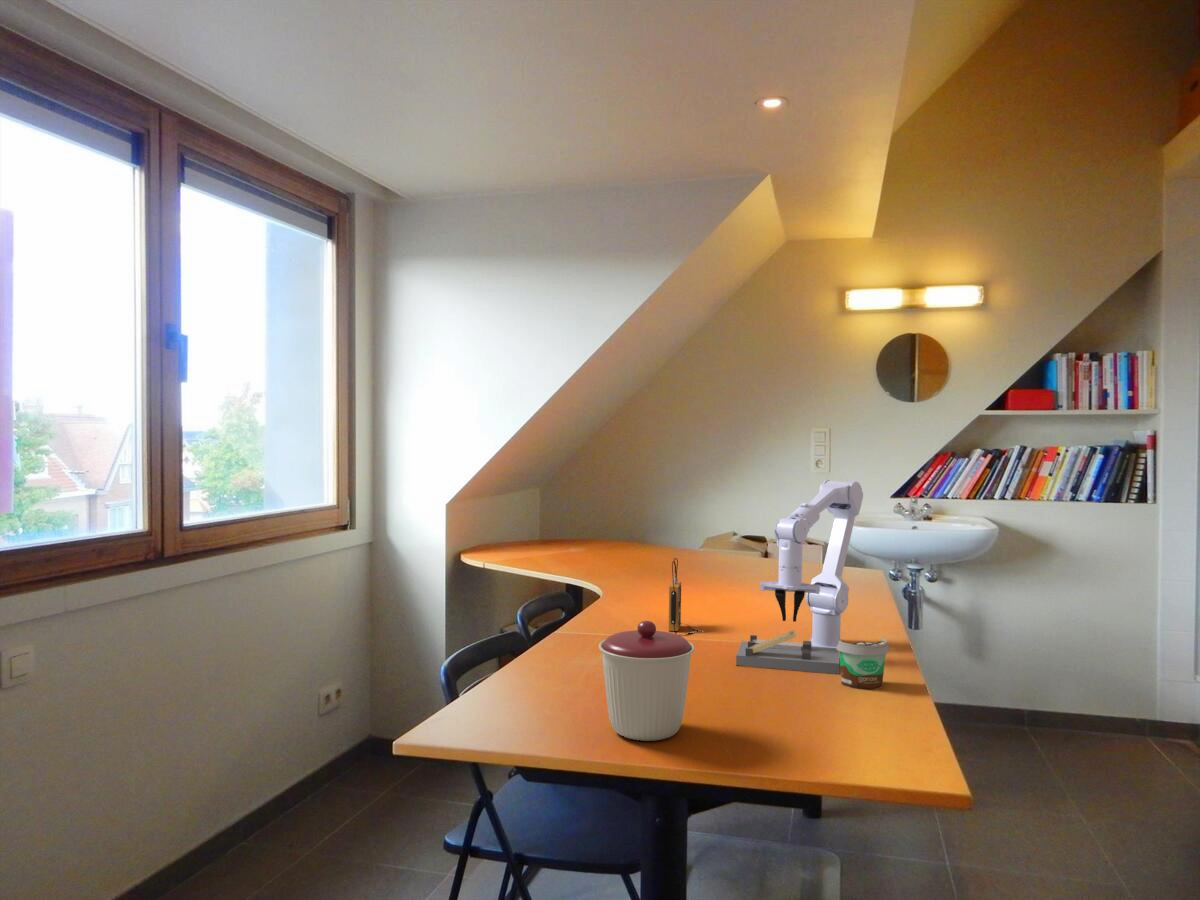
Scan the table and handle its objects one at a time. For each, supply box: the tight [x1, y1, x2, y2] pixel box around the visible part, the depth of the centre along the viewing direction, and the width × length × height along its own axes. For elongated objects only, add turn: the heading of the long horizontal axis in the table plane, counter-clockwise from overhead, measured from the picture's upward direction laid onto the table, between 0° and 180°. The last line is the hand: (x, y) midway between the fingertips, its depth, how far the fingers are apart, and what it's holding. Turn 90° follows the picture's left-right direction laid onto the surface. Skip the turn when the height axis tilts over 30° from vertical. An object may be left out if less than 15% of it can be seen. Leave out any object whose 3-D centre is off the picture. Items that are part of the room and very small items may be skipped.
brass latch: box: [749, 629, 797, 653], centre depth 205 cm, size 12×4×1 cm, turn 74°
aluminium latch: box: [753, 638, 803, 650], centre depth 213 cm, size 12×4×1 cm, turn 75°
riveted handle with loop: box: [668, 557, 705, 635], centre depth 239 cm, size 15×10×20 cm
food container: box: [836, 637, 890, 691], centre depth 189 cm, size 12×6×10 cm, turn 105°
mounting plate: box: [735, 634, 840, 675], centre depth 208 cm, size 14×24×4 cm, turn 75°
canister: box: [598, 620, 696, 742], centre depth 160 cm, size 18×18×21 cm
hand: (789, 620), depth 212 cm, fingers closed
